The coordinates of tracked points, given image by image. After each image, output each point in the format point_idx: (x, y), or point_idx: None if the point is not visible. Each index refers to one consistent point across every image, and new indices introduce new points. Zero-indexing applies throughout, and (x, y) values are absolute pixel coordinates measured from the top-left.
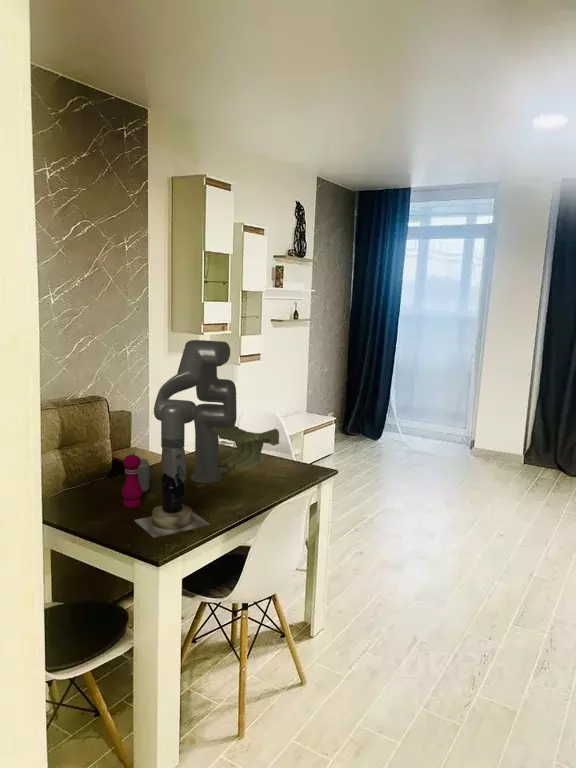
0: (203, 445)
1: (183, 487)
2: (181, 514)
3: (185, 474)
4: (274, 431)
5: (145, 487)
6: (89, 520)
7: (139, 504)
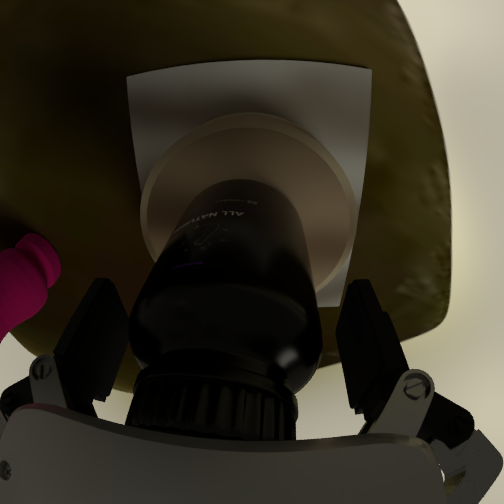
0: None
1: (390, 341)
2: (334, 219)
3: (498, 474)
4: None
5: None
6: (136, 363)
7: (47, 245)
